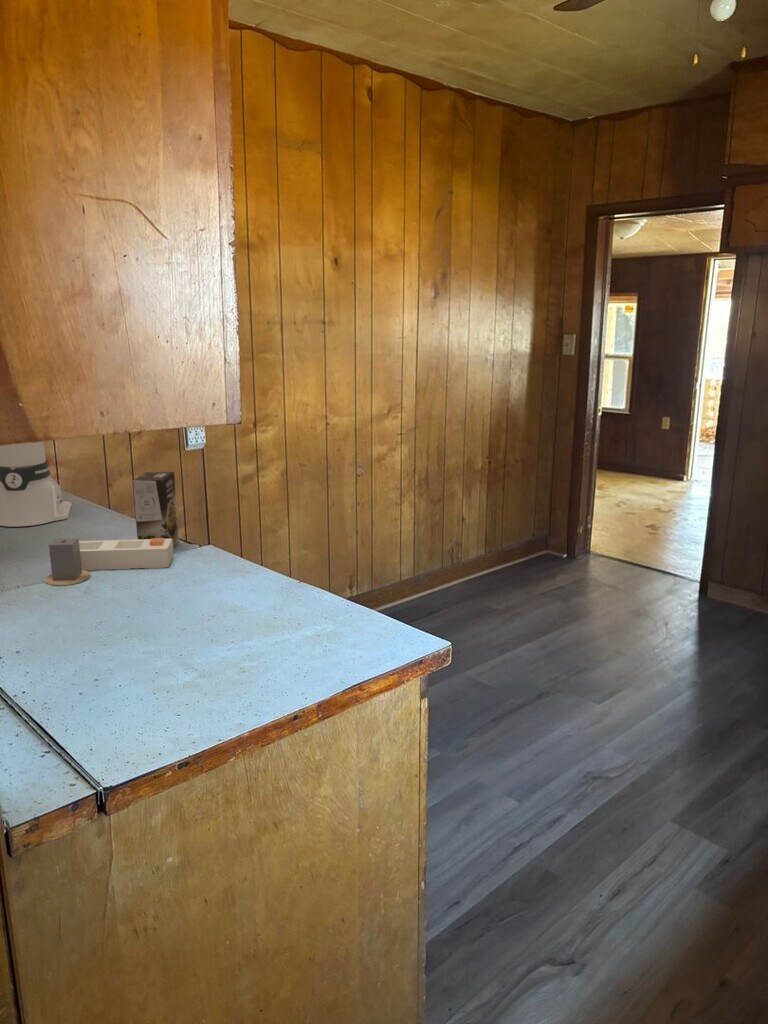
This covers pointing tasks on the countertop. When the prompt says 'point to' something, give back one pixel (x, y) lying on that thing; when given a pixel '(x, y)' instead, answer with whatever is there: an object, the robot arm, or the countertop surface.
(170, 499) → the coffee box
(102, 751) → the countertop surface
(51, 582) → the coaster
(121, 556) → the power strip
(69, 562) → the block
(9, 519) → the robot arm
